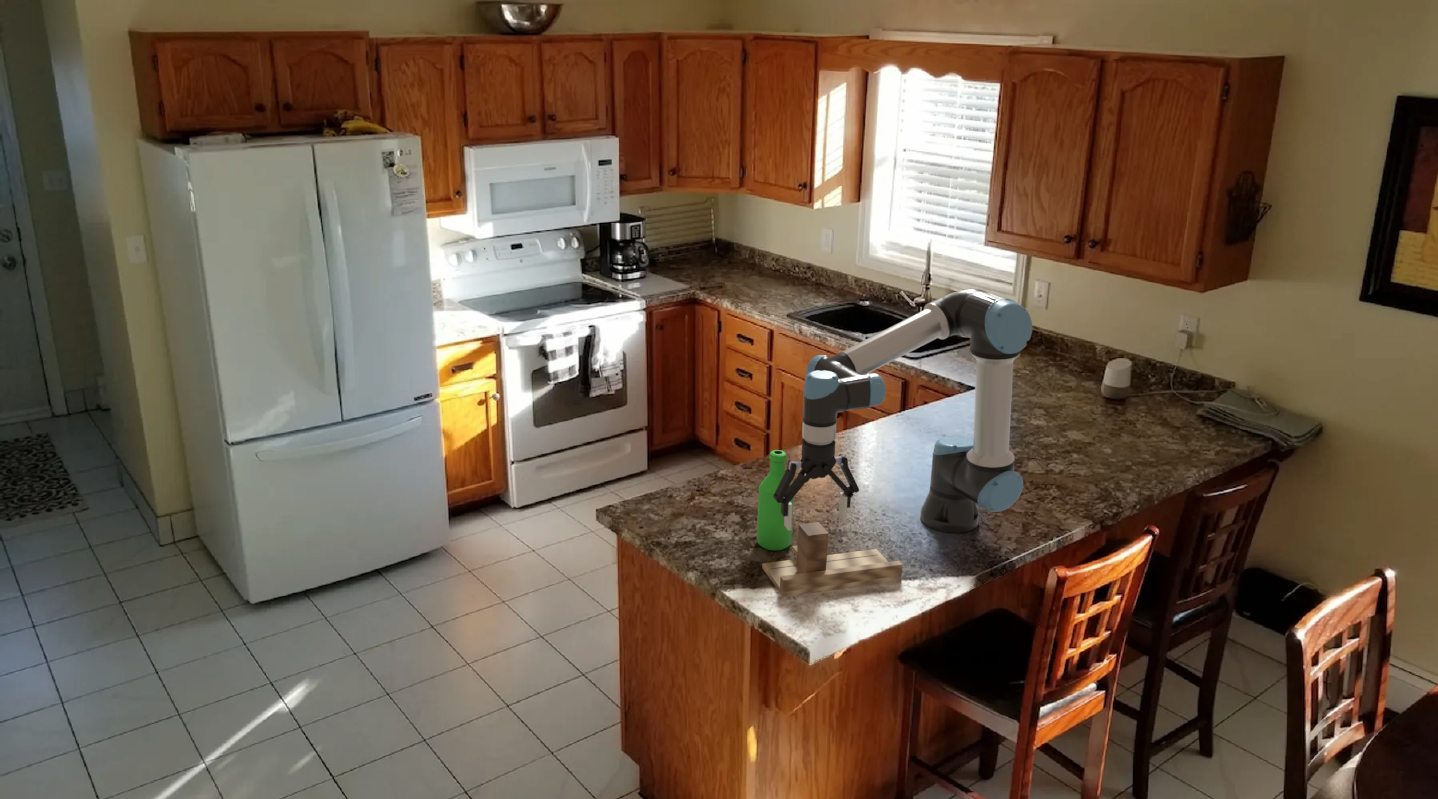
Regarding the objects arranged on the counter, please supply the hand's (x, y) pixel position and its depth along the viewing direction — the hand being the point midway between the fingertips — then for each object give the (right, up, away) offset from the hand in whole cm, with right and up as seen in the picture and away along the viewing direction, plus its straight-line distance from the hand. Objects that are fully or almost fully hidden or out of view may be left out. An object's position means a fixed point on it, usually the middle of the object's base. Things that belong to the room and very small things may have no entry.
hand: (815, 523), depth 249 cm
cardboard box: (-2, -11, +8) cm, 14 cm away
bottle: (-8, -8, +22) cm, 25 cm away
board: (+5, -13, +8) cm, 16 cm away
